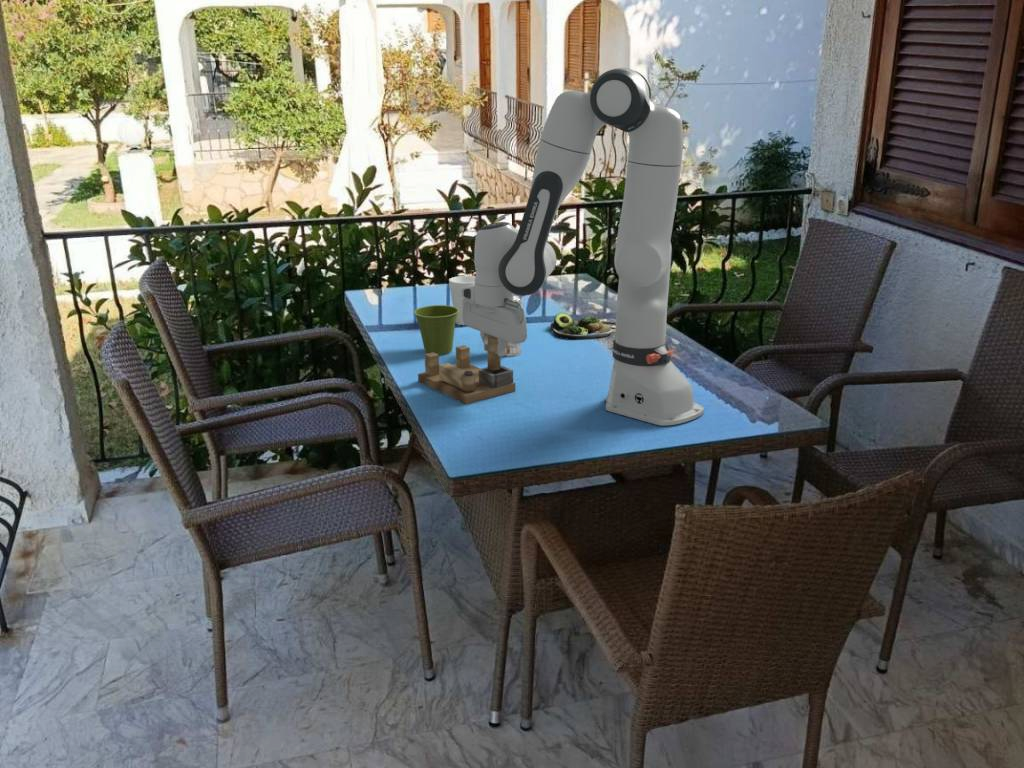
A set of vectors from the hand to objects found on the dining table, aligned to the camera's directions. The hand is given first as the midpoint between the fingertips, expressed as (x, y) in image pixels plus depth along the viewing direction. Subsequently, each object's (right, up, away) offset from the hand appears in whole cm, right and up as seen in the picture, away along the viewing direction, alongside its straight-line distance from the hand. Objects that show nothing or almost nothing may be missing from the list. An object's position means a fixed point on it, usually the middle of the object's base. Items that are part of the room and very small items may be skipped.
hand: (494, 353), depth 214 cm
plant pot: (-15, +1, +32) cm, 35 cm away
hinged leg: (-8, -7, 0) cm, 11 cm away
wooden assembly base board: (-7, -8, +6) cm, 12 cm away
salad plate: (+23, +7, +49) cm, 55 cm away
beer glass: (+4, +1, +30) cm, 30 cm away
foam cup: (-9, +11, +58) cm, 60 cm away
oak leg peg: (0, -3, +1) cm, 4 cm away
